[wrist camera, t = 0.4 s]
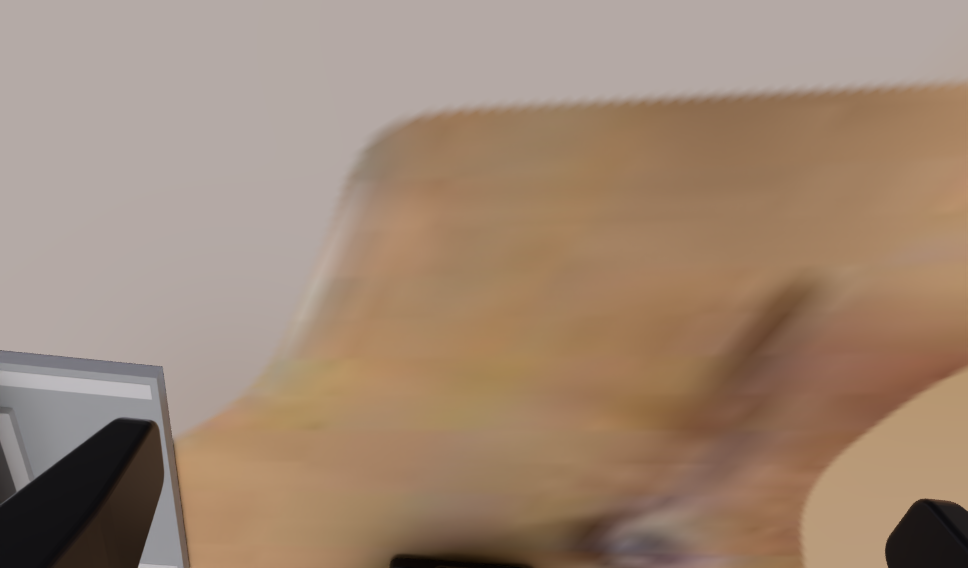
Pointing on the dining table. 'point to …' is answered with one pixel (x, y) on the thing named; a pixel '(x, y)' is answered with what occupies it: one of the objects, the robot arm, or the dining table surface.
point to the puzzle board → (85, 428)
